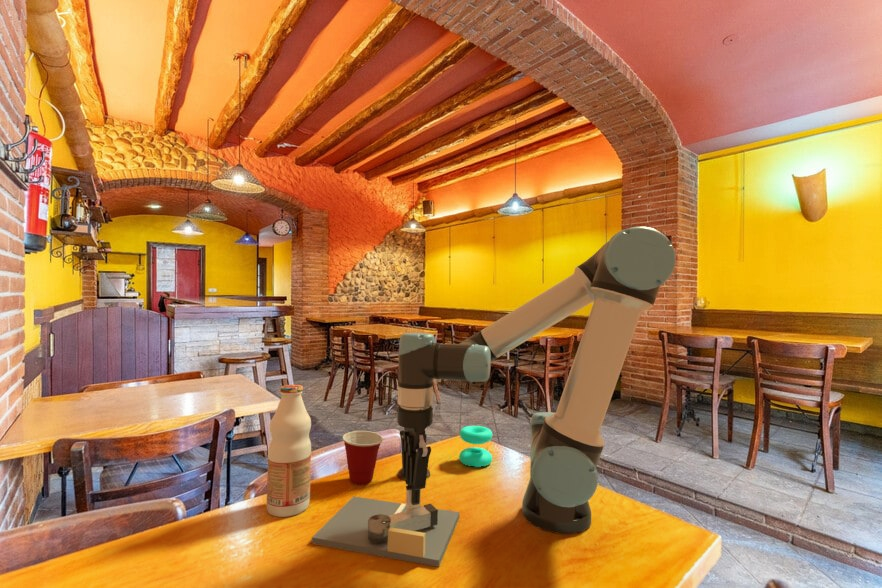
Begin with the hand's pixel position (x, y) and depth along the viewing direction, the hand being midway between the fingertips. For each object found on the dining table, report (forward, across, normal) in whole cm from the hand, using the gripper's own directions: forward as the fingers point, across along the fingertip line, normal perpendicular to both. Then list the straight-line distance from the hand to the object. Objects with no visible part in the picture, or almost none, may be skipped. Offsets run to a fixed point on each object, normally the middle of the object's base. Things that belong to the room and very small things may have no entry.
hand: (412, 516), depth 87 cm
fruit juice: (+3, +19, +24) cm, 30 cm away
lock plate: (+3, +1, +4) cm, 5 cm away
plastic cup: (+3, +27, +5) cm, 28 cm away
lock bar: (+1, -3, +3) cm, 4 cm away
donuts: (+3, +28, -30) cm, 41 cm away
